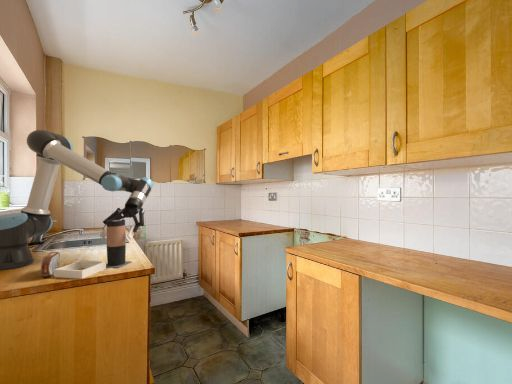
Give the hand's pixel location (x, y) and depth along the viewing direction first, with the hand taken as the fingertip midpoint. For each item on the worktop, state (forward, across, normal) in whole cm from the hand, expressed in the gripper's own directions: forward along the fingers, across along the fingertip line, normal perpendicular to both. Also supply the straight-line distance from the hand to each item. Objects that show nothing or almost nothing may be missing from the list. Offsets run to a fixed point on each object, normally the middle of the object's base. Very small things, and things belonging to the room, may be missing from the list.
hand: (115, 237), depth 116 cm
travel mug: (+8, 0, -10) cm, 13 cm away
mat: (+8, 0, -10) cm, 13 cm away
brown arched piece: (+19, +19, +1) cm, 27 cm away
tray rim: (+17, +7, -1) cm, 18 cm away
